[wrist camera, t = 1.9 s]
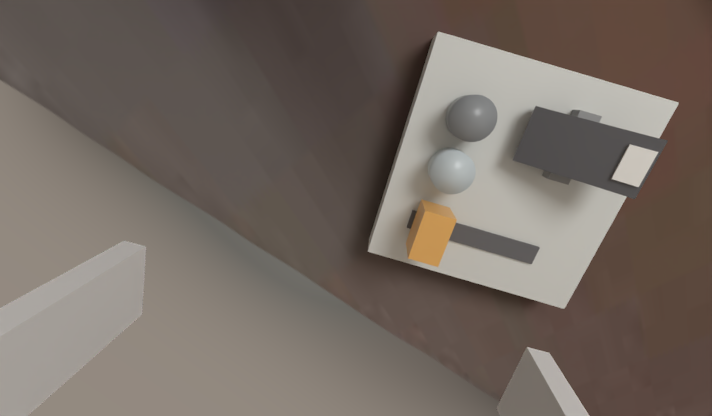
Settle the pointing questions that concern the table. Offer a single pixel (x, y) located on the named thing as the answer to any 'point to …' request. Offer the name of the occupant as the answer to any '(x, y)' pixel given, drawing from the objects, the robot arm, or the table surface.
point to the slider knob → (430, 233)
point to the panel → (507, 172)
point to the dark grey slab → (588, 151)
